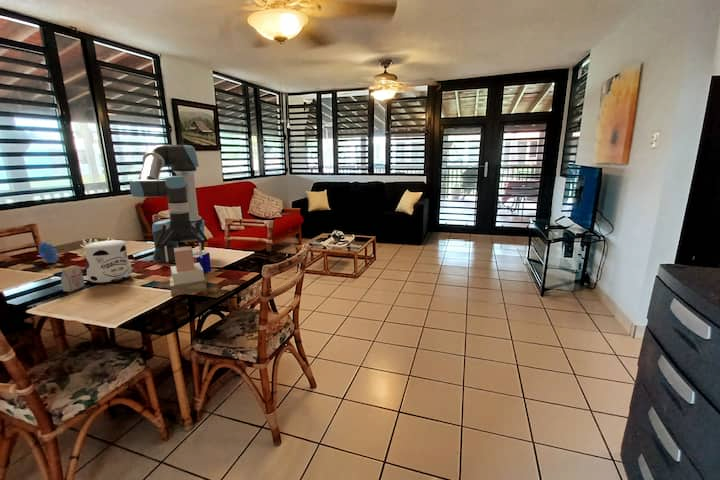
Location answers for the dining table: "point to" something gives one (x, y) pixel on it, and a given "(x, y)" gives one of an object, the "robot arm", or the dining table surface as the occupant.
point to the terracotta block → (184, 258)
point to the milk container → (107, 261)
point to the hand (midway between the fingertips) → (184, 259)
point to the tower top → (187, 275)
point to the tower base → (187, 287)
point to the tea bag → (72, 279)
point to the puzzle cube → (203, 260)
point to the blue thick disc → (48, 252)
